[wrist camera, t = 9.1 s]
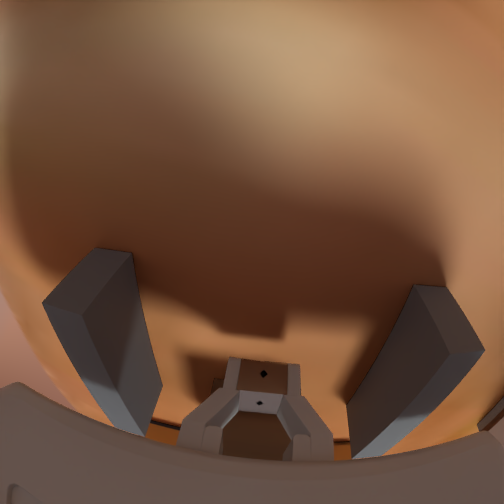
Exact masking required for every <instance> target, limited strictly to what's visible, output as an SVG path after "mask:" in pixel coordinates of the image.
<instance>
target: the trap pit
mask: <svg viewBox="0 0 504 504" xmlns="http://www.w3.org/2000/svg"><path fill="white" fill-rule="evenodd" d="M179 432H180V428H179V427H175V426H171V425H167V424H163V423H159V422H155V421H152V420H151V421H150V424H149V427H148V430H147V433H146V436H145V438H148V439H152V440H155V441H159V442H162V443H166V444H170V445H174V446H176V442H177V439H178V435H179ZM138 436H140V435H138ZM142 437H143V436H142ZM333 445H334V461H336V460H351V447H350V442H333Z"/></svg>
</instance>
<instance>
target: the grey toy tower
mask: <svg viewBox="0 0 504 504" xmlns="http://www.w3.org/2000/svg"><path fill="white" fill-rule="evenodd" d="M477 426H478V429H479V432H480V431H488V432H489V433H490V434H492V435H493V436H494V437H495V438H496V439H497V440H498V441H499V442H500V443H501V444H502V446H503V448H504V397H503V398H502V399H501V400H500V401H499V403H498V404H497V405H496V406H495V407H494V408H493V409H492V410H491V411H490V412H489V413H488V414H487V415H486V416H485V417H484V418H483V419H482V420H481V421H480V422H479V423H478V424H477Z"/></svg>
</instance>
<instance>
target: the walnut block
mask: <svg viewBox="0 0 504 504" xmlns="http://www.w3.org/2000/svg"><path fill="white" fill-rule="evenodd" d="M223 384H224V380H222V379H216V378H214V382H213V386H212V391H211V395H212V394H213V393H214V392H215V391H216V390H217V389H218V388H223ZM211 395H210V396H211ZM222 430H223V453H222V455H226V456H233V457H241V458H251V459H262V460H277V461H282V460H283V453H284V452H285V450H286V448H287V447H288V445H289V444H290V442H291V439H290V437H289V436H288V434H287V432H286V431H285V429H284V427H283V425H282V424H281V422H280V420H279V418H278V417H277V414H268V413H259V412H248V411H238V412H237V413H236V415H235V416H234V417H233V418H232V419H231V420H230V421H229V422H228V423H227V424H226V425H225V426H224V428H223V429H222Z"/></svg>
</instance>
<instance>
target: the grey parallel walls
mask: <svg viewBox="0 0 504 504" xmlns="http://www.w3.org/2000/svg"><path fill="white" fill-rule="evenodd" d="M42 304H43V306H44V309H45V311H46V313H47V315H48V318H49V320H50V322H51V324H52V326H53V328H54V330H55V332H56V334H57V336H58V338H59V340H60V342H61V344H62V346H63V348H64V350H65V352H66V353H67V355H68V357H69V359H70V361H71V362H72V364H73V366H74V367H75V369H76V371H77V373H78V374H79V376H80V377H81V379H82V381H83V382H84V384H85V385H86V387H87V388H88V390H89V392H90V393H91V395H92V396H93V397H94V399H95V400H96V402H97V403H98V405H99V406H100V408H101V409H102V410H103V412H104V413H105V414H106V416H107V417H108V418H109V420H110V421H111V422H112V424H113V425H114V426H115V427H116V428H119V429H122V430H125V431H128V432H131V433H134V434H137V435H140V436H143V437H145V436H146V433H147V430H148V427H149V424H150V421H151V418H152V415H153V412H154V409H155V406H156V404H157V401H158V398H159V395H160V392H161V390H162V387H163V385H162V382H161V378H160V375H159V372H158V368H157V365H156V362H155V358H154V354H153V351H152V347H151V343H150V339H149V335H148V331H147V327H146V323H145V319H144V314H143V310H142V305H141V301H140V296H139V291H138V286H137V280H136V275H135V269H134V263H133V257H132V253H129V252H122V251H115V250H107V249H100V248H94V249H93V250H92V251H91V252H90V253H89V254H88V255H87V256H86V257H85V258H84V259H83V260H82V261H81V262H80V263H79V264H78V265H77V266H76V267H75V268H74V269H73V270H72V271H71V272H70V273H69V274H68V275H67V276H66V277H65V278H64V279H63V280H62V281H61V282H60V283H59V284H58V285H57V286H56V288H55V289H54V290H53V291H52V292H51V293H50V294H49V295H48V296H47V297H46V299H45V300H44V301H43V302H42ZM484 351H485V349H484V347H483V345H482V343H481V341H480V340H479V338H478V336H477V334H476V333H475V331H474V329H473V327H472V326H471V324H470V322H469V321H468V319H467V317H466V316H465V314H464V313H463V311H462V309H461V308H460V306H459V305H458V303H457V302H456V300H455V299H454V297H453V296H452V294H451V293H450V291H449V290H448V288H447V287H436V286H424V285H413V288H412V290H411V292H410V294H409V297H408V299H407V301H406V303H405V305H404V307H403V309H402V312H401V314H400V316H399V318H398V320H397V322H396V324H395V326H394V328H393V329H392V331H391V333H390V335H389V337H388V339H387V341H386V343H385V344H384V346H383V348H382V350H381V352H380V353H379V355H378V357H377V358H376V360H375V362H374V364H373V365H372V367H371V369H370V370H369V372H368V373H367V375H366V377H365V378H364V380H363V381H362V383H361V385H360V386H359V388H358V389H357V391H356V392H355V394H354V395H353V397H352V398H351V400H350V401H349V403H348V404H347V405H346V408H347V417H348V426H349V436H350V447H351V459H356V458H366V457H375V456H381V455H383V454H384V453H385V452H387V451H388V450H389V449H390V448H392V447H393V446H394V445H395V444H397V443H398V442H399V441H400V440H402V439H403V438H404V437H405V436H406V435H407V434H409V433H410V432H411V431H412V430H413V429H414V428H415V427H417V426H418V425H419V424H420V423H421V422H422V421H423V420H424V419H425V418H426V417H427V416H428V415H429V414H430V413H431V412H432V411H433V410H435V409H436V408H437V406H438V405H439V404H440V403H441V402H442V401H443V400H444V399H445V398H446V397H447V396H448V395H449V394H450V393H451V392H452V391H453V390H454V388H455V387H456V386H457V385H458V384H459V383H460V382H461V380H462V379H463V378H464V377H465V376H466V374H467V373H468V372H469V371H470V370H471V368H472V367H473V366H474V365H475V363H476V362H477V361H478V359H479V358H480V357H481V355H482V354H483V353H484Z"/></svg>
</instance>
